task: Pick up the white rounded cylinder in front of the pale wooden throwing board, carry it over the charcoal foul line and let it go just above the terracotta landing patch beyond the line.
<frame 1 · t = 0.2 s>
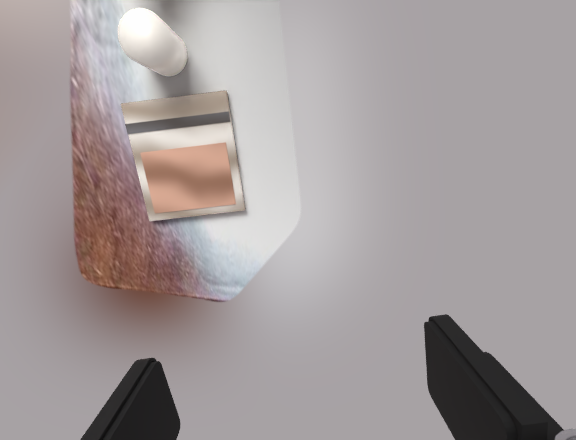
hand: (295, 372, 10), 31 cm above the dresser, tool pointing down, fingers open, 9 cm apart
white rounded cylinder: (166, 53, 35), on the dresser
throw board: (187, 159, 38), on the dresser
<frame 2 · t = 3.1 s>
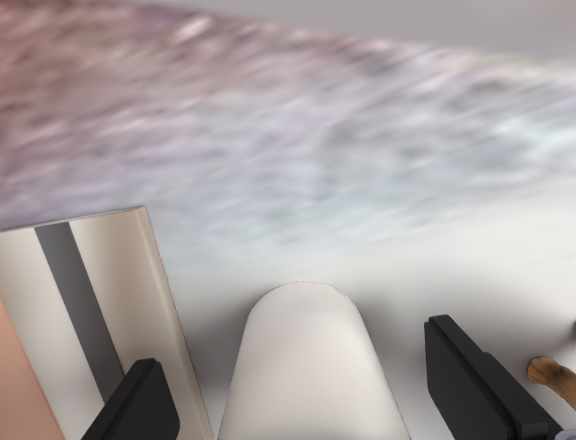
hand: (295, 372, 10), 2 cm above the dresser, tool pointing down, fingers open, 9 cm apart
white rounded cylinder: (304, 335, 12), on the dresser
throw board: (23, 375, 13), on the dresser
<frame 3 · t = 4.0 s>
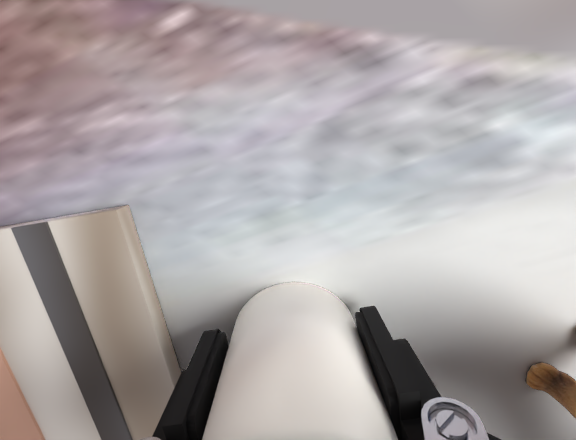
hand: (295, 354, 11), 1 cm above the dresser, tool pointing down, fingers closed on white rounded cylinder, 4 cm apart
white rounded cylinder: (294, 337, 12), on the dresser, touching gripper
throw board: (5, 381, 13), on the dresser
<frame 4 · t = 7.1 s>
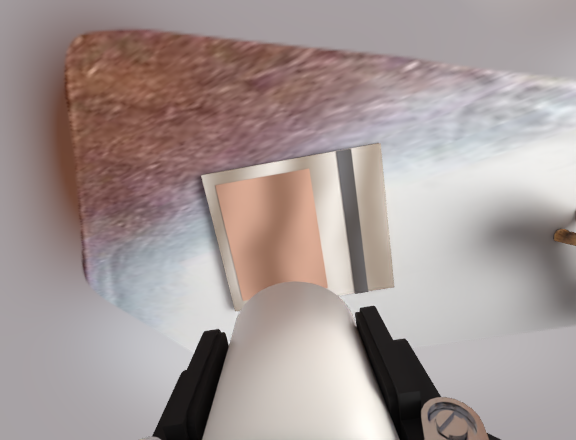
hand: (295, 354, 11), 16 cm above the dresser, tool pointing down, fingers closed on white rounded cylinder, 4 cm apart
white rounded cylinder: (295, 337, 12), point 15 cm above the dresser, touching gripper
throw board: (301, 231, 27), on the dresser
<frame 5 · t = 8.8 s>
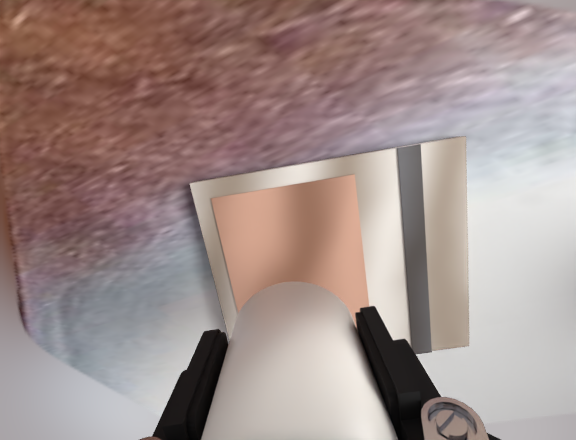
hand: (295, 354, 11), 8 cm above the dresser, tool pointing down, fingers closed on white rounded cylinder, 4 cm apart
white rounded cylinder: (294, 337, 12), point 7 cm above the dresser, touching gripper
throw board: (337, 265, 18), on the dresser
when the fingers open (3 cm above the dresser, at t = 10.4 s): white rounded cylinder drops 1 cm, resting on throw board.
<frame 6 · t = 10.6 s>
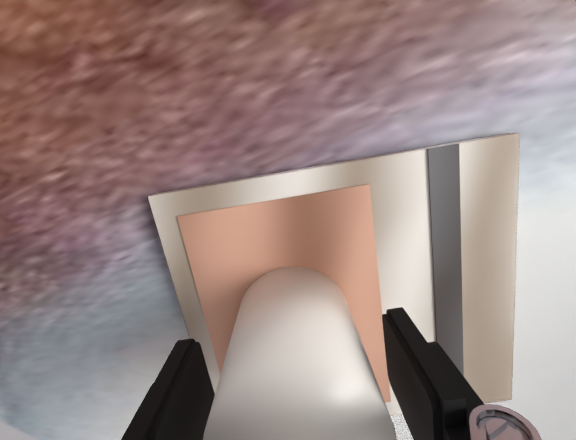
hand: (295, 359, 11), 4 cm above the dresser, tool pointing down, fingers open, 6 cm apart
white rounded cylinder: (293, 317, 13), point 1 cm above the dresser, touching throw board
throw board: (344, 299, 14), on the dresser
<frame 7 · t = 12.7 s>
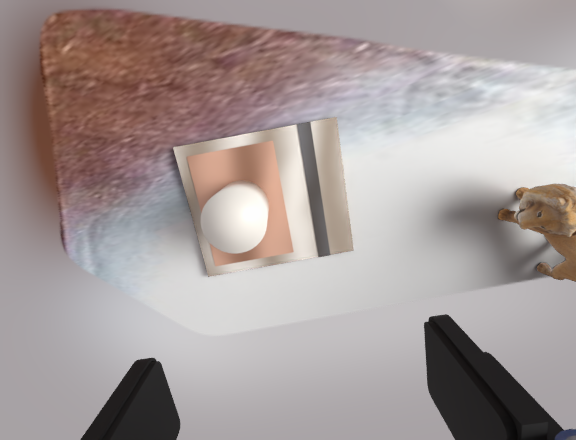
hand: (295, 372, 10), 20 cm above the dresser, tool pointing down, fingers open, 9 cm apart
lion figurine: (520, 225, 31), on the dresser
white rounded cylinder: (242, 206, 28), point 1 cm above the dresser, touching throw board
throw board: (268, 200, 29), on the dresser
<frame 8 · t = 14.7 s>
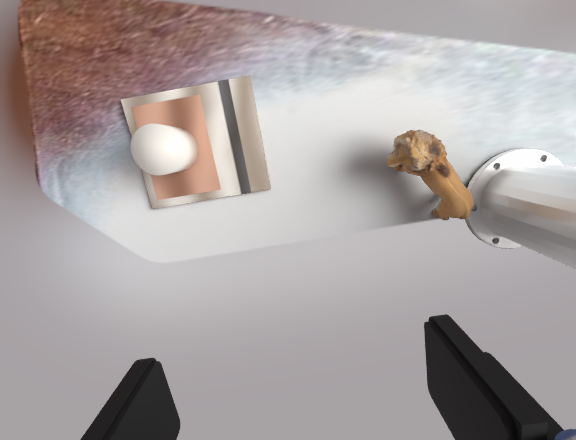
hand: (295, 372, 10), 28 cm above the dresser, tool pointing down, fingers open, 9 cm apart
lion figurine: (415, 175, 37), on the dresser
white rounded cylinder: (177, 149, 35), point 1 cm above the dresser, touching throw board
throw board: (200, 146, 36), on the dresser
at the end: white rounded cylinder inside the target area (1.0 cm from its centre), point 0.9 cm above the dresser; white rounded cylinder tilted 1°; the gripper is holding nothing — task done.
